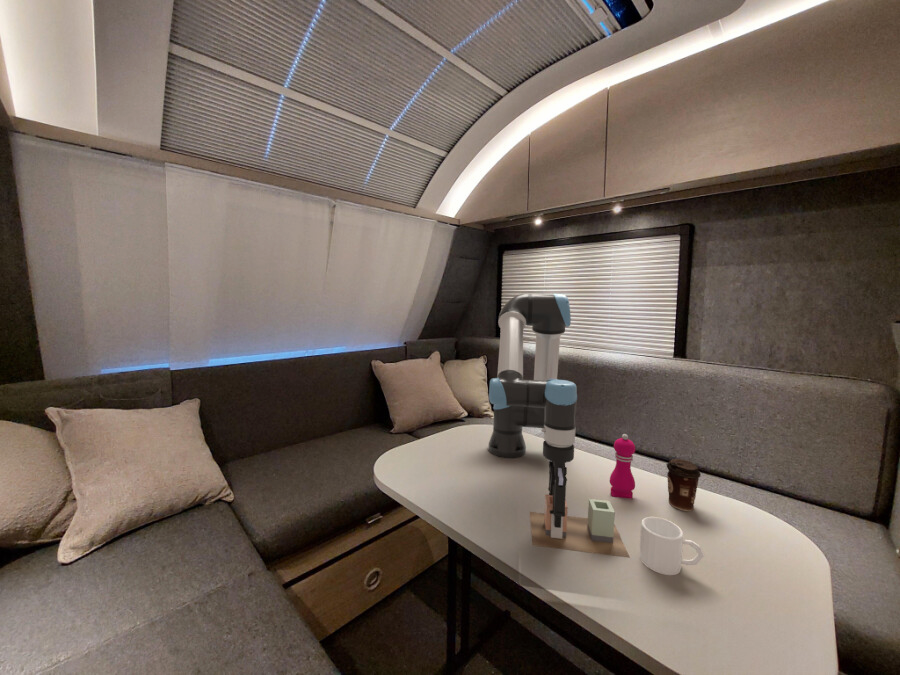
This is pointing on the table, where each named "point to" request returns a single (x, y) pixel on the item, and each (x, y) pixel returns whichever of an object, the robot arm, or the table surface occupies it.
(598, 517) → the sage sleeve
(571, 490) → the table surface
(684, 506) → the coffee cup
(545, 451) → the robot arm
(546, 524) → the terracotta sleeve
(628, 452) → the pepper mill
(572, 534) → the pin board
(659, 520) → the mug
